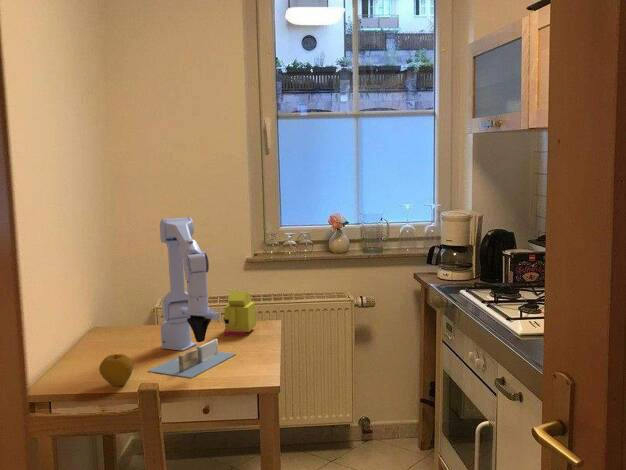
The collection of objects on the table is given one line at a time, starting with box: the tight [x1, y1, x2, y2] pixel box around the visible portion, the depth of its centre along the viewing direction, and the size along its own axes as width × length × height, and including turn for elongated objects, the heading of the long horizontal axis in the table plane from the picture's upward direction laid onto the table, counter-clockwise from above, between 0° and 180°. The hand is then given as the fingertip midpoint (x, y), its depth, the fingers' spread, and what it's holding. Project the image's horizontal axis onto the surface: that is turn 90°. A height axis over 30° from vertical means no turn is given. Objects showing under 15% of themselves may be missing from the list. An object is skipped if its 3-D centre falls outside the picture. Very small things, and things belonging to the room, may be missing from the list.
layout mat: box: [147, 351, 237, 379], centre depth 198 cm, size 16×23×1 cm
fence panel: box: [177, 347, 199, 372], centre depth 192 cm, size 8×1×5 cm, turn 154°
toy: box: [223, 290, 257, 337], centre depth 230 cm, size 13×10×15 cm
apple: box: [98, 353, 134, 387], centre depth 180 cm, size 9×9×9 cm
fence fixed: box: [195, 338, 219, 363], centre depth 201 cm, size 1×10×5 cm, turn 154°
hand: (200, 341), depth 187 cm, fingers closed
